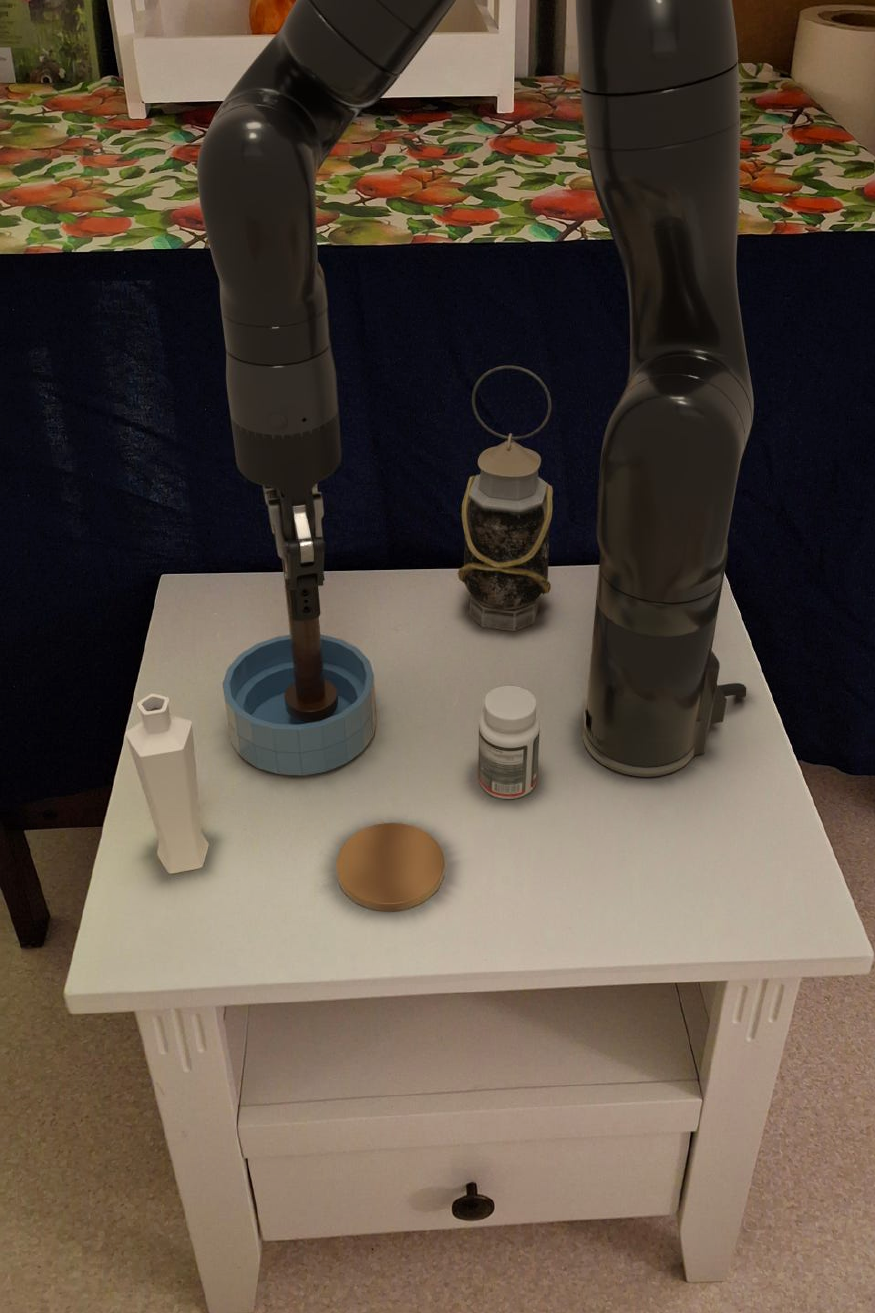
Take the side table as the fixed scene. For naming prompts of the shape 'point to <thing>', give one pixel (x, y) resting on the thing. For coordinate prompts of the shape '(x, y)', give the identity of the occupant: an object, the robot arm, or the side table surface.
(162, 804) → the perfume bottle
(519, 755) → the pill bottle
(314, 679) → the brown wooden peg
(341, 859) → the coaster
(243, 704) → the bowl
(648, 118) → the robot arm
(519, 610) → the lantern
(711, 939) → the side table surface
